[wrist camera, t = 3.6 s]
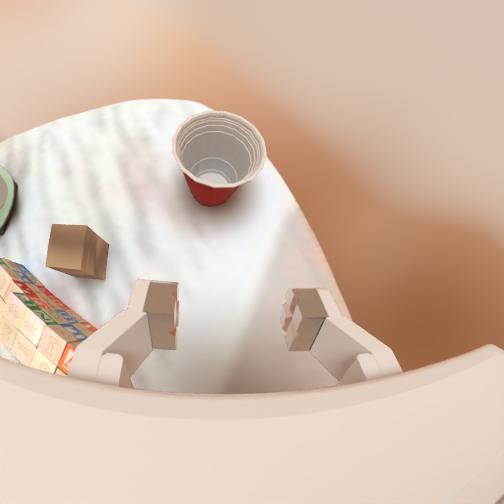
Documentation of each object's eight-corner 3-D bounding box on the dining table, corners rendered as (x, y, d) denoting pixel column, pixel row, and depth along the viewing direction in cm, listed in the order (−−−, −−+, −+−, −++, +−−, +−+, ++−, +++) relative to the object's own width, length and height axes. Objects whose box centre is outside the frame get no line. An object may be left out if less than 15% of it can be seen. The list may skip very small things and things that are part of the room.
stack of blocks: (8, 296, 30) (-41, 288, 18) (23, 264, 31) (-24, 246, 20) (104, 382, 31) (70, 408, 19) (123, 347, 33) (91, 361, 21)
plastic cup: (258, 212, 41) (282, 174, 29) (186, 231, 38) (184, 197, 26) (236, 151, 42) (250, 102, 31) (169, 166, 39) (163, 117, 28)
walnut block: (105, 279, 34) (80, 269, 25) (75, 276, 33) (45, 266, 24) (108, 244, 35) (86, 225, 27) (79, 242, 34) (52, 224, 26)
